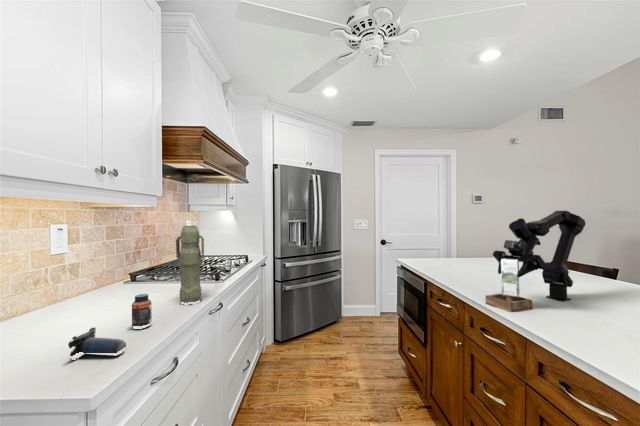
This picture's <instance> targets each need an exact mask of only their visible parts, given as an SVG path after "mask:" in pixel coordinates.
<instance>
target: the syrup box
mask: <svg viewBox="0 0 640 426" xmlns="http://www.w3.org/2000/svg"><path fill="white" fill-rule="evenodd" d="M519 270H520V262H519V260H518V259H501V274H500V275H501V293H502V295H505V296H512V297H520V294H521V293H520V291H521V290H520V277H519V278H518V277H517V274H518V272H519Z"/></svg>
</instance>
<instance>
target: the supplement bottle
mask: <svg viewBox="0 0 640 426" xmlns="http://www.w3.org/2000/svg"><path fill="white" fill-rule="evenodd" d="M152 316H153V315H152V300H151V299H149V294H148V293H140V294H136V295H135V296H134V302H132V303H131V327H132V326H143V325H147V324H150V323H151V322H152Z"/></svg>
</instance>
